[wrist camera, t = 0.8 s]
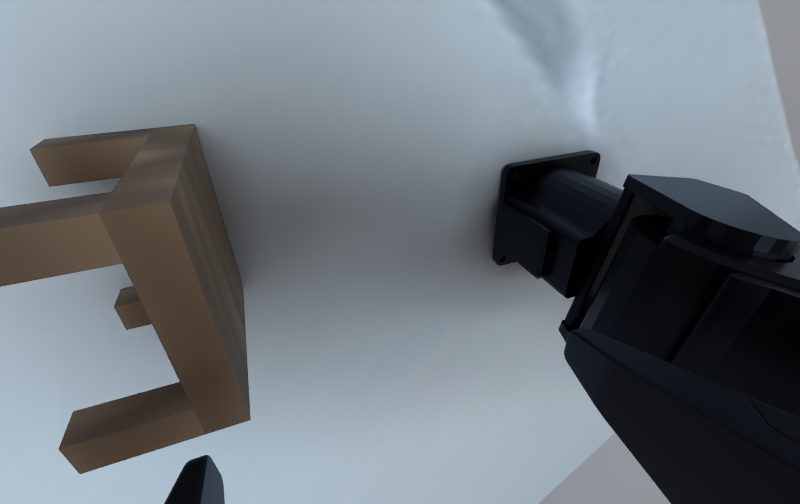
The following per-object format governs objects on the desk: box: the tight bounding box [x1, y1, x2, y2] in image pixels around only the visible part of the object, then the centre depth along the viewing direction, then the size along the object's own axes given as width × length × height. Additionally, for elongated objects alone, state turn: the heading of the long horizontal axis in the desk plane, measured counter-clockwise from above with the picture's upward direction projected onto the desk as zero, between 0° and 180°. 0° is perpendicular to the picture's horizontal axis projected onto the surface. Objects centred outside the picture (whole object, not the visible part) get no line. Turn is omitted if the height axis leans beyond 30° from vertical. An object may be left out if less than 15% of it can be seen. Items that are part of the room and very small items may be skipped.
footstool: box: [0, 124, 250, 474], centre depth 13 cm, size 5×8×8 cm, turn 3°
